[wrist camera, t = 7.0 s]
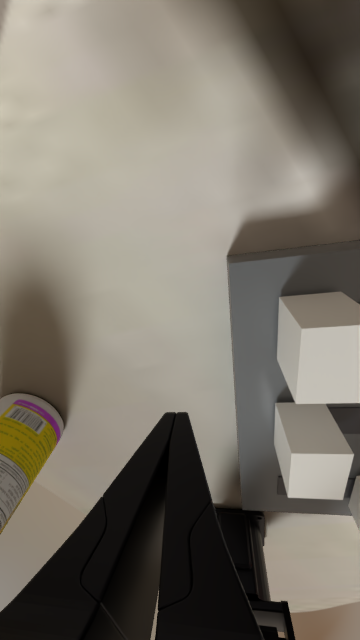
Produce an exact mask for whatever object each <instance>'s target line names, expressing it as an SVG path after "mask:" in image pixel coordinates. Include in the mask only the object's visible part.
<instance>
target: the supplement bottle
mask: <svg viewBox="0 0 360 640" xmlns="http://www.w3.org/2000/svg"><path fill="white" fill-rule="evenodd" d="M63 430H64V425H63V421H62V418H61V417H60V415H59V413H58V412H57V411H56V410H55V408H54V407H52V406H51V405H50V404H49V403H47V402H46V401H44V400H43V399H41V398H38V397H36V396H33V395H29V394H22V393H16V394H10V395H7V396H4V397H3V398H1V399H0V534H1V533H2V531H3V529H4V528H5V526H6V524H7V523H8V521H9V520H10V518H11V516H12V515H13V513H14V512H15V510H16V509H17V507H18V505H19V504H20V502H21V501H22V499H23V497H24V496H25V494H26V493H27V491H28V489H29V488H30V486H31V485H32V483H33V482H34V480H35V478H36V477H37V475H38V474H39V472H40V470H41V469H42V467H43V466H44V464H45V463H46V461H47V459H48V458H49V456H50V454H51V453H52V451H53V450H54V448H55V446H56V445H57V443H58V442H59V440H60V438H61V436H62V434H63Z"/></svg>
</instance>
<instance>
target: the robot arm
mask: <svg viewBox="0 0 360 640" xmlns="http://www.w3.org/2000/svg"><path fill="white" fill-rule="evenodd" d="M264 521H265V518H264V513H263V512H260V511H245V510H227V509H215V508H214V504H213V502H212V498H211V494H210V491H209V487H208V483H207V480H206V476H205V473H204V469H203V466H202V462H201V458H200V455H199V451H198V448H197V444H196V441H195V437H194V433H193V430H192V426H191V423H190V419H189V416H188V413H187V412H178V413H175V412H166V413H165V414H164V415H163V416H162V418H161V419H160V420H159V422H158V423H157V424H156V426H155V427H154V428H153V430H152V431H151V432H150V434H149V435H148V436H147V438H146V439H145V440H144V442H143V443H142V444H141V445H140V447H139V448H138V449H137V451H136V452H135V453H134V455H133V456H132V457H131V459H130V460H129V461H128V463H127V464H126V465H125V467H124V468H123V469H122V470H121V472H120V473H119V474H118V476H117V477H116V478H115V480H114V481H113V482H112V484H111V485H110V486H109V488H108V489H107V490H106V492H105V493H104V494H103V497H101V498H100V499H99V501H98V502H97V503H96V505H95V506H94V507H93V509H92V510H91V511H90V512H89V514H88V515H87V516H86V517H85V519H84V520H83V521H82V522H81V524H80V525H79V526H78V527H77V529H76V530H75V531H74V532H73V533H72V534H71V535H70V537H69V538H68V539H67V540H66V541H65V542H64V544H63V545H62V546H61V547H60V548H59V549H58V550H57V551H56V553H55V554H54V555H53V556H52V557H51V558H50V559H49V560H48V562H47V563H46V564H45V565H44V566H43V567H42V568H41V569H40V571H39V572H38V573H37V574H36V575H35V576H34V577H33V578H32V579H31V581H30V582H29V583H28V584H27V585H26V586H25V587H24V588H23V590H22V591H21V592H20V593H19V594H18V595H17V596H16V597H15V598H14V599H13V600H12V601H11V602H10V603H9V604H8V605H7V606H6V607H5V608H4V609H3V610H2V611H1V612H0V640H150V638H151V631H152V626H153V620H154V614H155V608H156V602H157V596H158V590H159V599H158V611H159V612H158V614H157V626H156V636H155V640H295V636H294V631H293V626H292V622H291V617H290V611H289V607H288V602H287V601H281V602H273V601H271V599H270V592H269V586H268V579H267V572H266V566H265V559H264V552H263V546H264ZM277 631H279V632H284V635H285V638H280V637H278V632H277Z"/></svg>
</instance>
